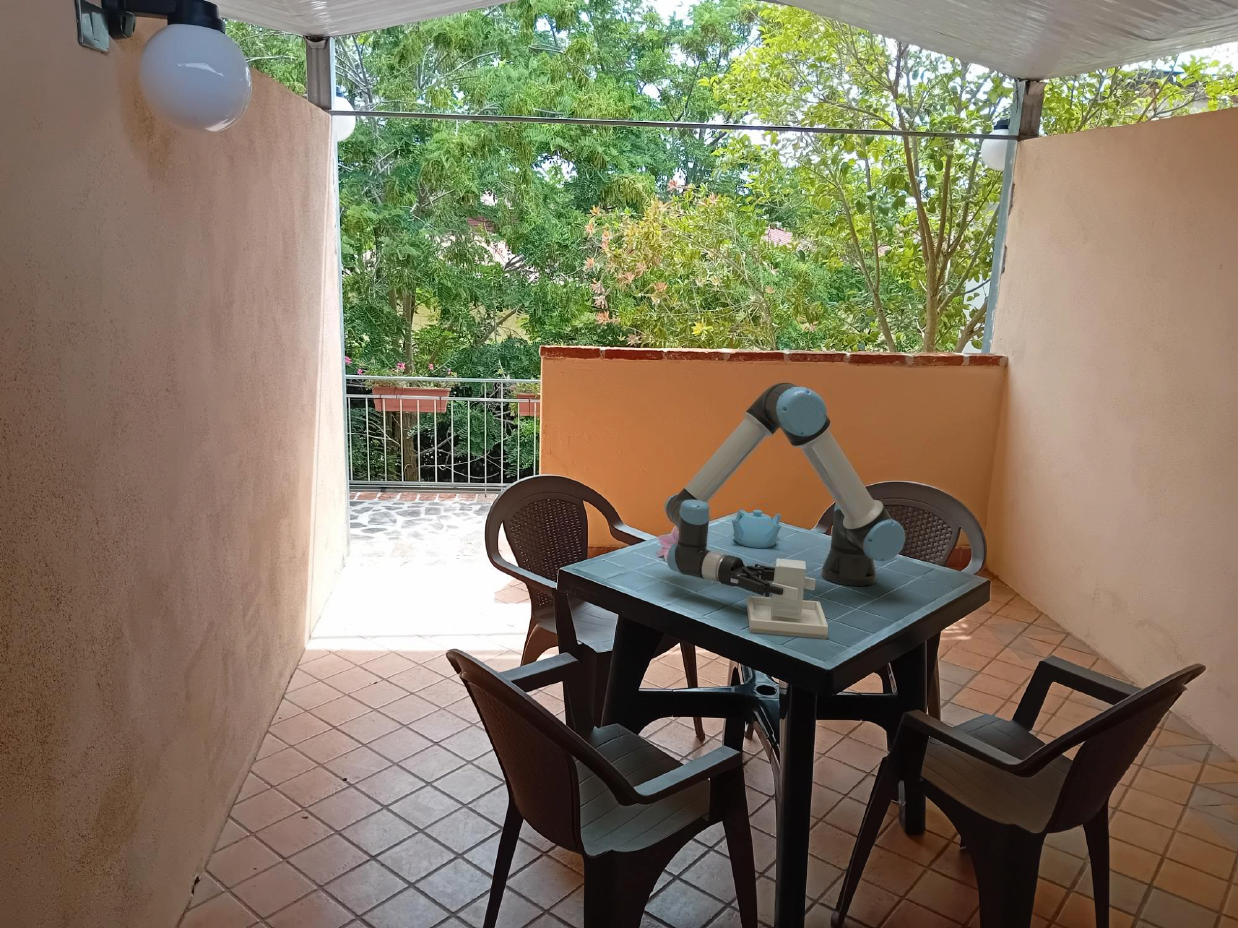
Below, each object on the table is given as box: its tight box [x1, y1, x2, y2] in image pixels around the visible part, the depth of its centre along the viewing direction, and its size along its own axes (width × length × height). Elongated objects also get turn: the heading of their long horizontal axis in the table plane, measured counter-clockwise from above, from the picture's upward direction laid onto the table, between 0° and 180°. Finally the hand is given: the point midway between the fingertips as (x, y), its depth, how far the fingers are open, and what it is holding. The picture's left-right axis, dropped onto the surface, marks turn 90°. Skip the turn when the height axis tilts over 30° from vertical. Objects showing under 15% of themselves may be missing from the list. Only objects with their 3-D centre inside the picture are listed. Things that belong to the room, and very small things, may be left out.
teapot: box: [731, 509, 782, 549], centre depth 299 cm, size 15×15×11 cm
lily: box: [656, 525, 679, 564], centre depth 278 cm, size 12×12×10 cm
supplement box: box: [771, 558, 807, 619], centre depth 228 cm, size 7×7×13 cm
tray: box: [746, 595, 829, 640], centre depth 230 cm, size 18×18×3 cm
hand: (805, 589), depth 226 cm, fingers closed on supplement box, 9 cm apart
